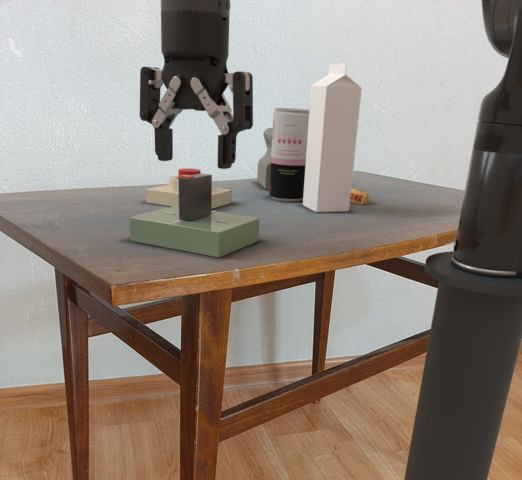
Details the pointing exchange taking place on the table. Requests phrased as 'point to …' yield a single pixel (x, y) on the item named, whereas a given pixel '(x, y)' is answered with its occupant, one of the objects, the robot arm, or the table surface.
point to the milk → (331, 141)
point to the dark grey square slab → (195, 196)
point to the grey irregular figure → (265, 161)
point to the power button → (188, 172)
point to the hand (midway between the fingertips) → (194, 164)
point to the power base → (170, 194)
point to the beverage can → (288, 154)
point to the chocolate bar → (359, 197)
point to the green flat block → (195, 231)
